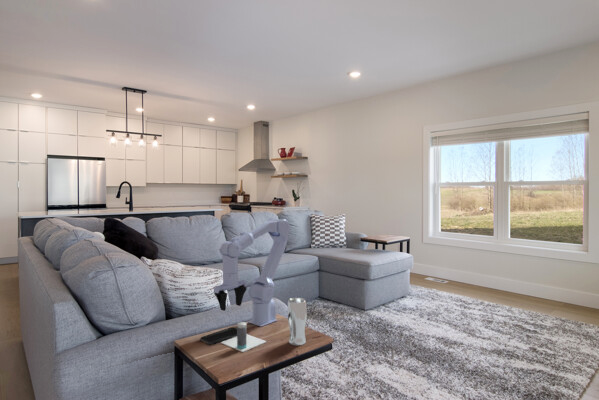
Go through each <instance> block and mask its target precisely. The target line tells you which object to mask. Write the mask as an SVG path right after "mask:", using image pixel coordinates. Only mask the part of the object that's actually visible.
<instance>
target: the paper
mask: <svg viewBox="0 0 599 400" xmlns="http://www.w3.org/2000/svg"><path fill="white" fill-rule="evenodd" d="M265 343H267V341H266V340H264V339H262V338H260V337H259V338H258V337H255V336H253V335H250V334H248V333H247V347H246V348H244V349H238V348H237V336H236V337H234V338H231V339H228V340H226V341H223V342H220V344H223V345H224V346H226V347H229V348H231V349H235V350H236V351H239V352H241V353H245V352H247V351H250V350H252V349H254V348H256V347H259V346H261V345H263V344H265Z"/></svg>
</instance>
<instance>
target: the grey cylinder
mask: <svg viewBox="0 0 599 400" xmlns="http://www.w3.org/2000/svg"><path fill="white" fill-rule="evenodd" d="M236 328H237V348H238V349H244V348H246V347H247V334H248V333H247V328H248V327H247V322H243V321H241V322H237V323H236Z"/></svg>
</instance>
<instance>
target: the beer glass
mask: <svg viewBox="0 0 599 400" xmlns="http://www.w3.org/2000/svg"><path fill="white" fill-rule="evenodd" d="M307 308H308V307H307V300H306V298H304V297H291V298H289V299H288V300H287V310H286V313H287V320H288V327H289V339H288V343H289V344H290V345H292V346H302V345H305V344H306V341H307V340H306V339H307V338H306V333H305V330H306V325H307V324H306V323H307V318H308V317H307V316H308V309H307Z"/></svg>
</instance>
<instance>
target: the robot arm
mask: <svg viewBox="0 0 599 400" xmlns="http://www.w3.org/2000/svg"><path fill="white" fill-rule="evenodd" d="M290 231H291V225H290V222H289V221H288V220H287V219H285V218H282V219H280V218H278V219H277V218H268V219H267V220H264V222H263V223H261V224H259V225H258V226H257V227H256V228H254V229H253V230H251V231H249V232H248V231H241V232H240V233H239V234H238V235H237V236H235V237H232V238H230V240H229V241H228V240H227V241H224V242H223V243H222V244H221V246H220V248H219V249H218V250H219V253H220V254H221V258H222V283H221V284H219V285H218V286H214V287H213V293H214V294H213V295H214V296H215V298H216V300H217V302H218V305H219V307H220V311H227V310H226V309H227V297H228V293H227V292H226V291H229V290H232V289H233V290H234V295H235V305H236V306H238V307H240V306H242V303H243V299H244V295H245V293H246V291H247V289H248V288H247V280H244V279H243V280H239V260H238V259H239V255H240V254H241V252H242V251H243V250H245V249H247V248H249V247H250V246H251V245H253V243H254V240H255V239H258V238H259V237H261V236H264V235H265V234H268V235H269V236H270V238H272V240H273V244H272V246H271V248H270V251H269V254H268V256H267V258H266V260H265V262H264V265H263V269H262V271H261V273H260V276H258V277H257V278H255V279H254V280H253V283H252V284H250V286H249V289H248V295H249V296H250V298H251V301H252V319H251V320H248V321H247V322H248V324H252V325H255V326H258V327H264V326H266V325H269V324H272V323H274V322H277V321H278V319H276V318H277V316H276V315H277V314H276V313H277V311H276V309H277V308H276V306H277V305H276V302H275V300H274V299H273V297H274V295H275V294H274V292H275V287H276V285H275V283H274V282H273V280H274V278H275V275H276V272H277V269H278V267H279V265H280V262H281V260H282V257H283V254H284V252H285V249H286V246H287V243H288V240H289V239H288V237H289V234H290Z"/></svg>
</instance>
